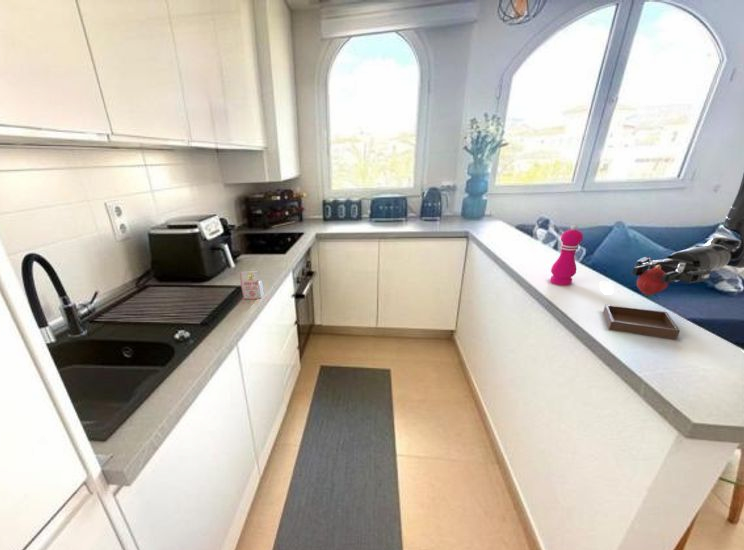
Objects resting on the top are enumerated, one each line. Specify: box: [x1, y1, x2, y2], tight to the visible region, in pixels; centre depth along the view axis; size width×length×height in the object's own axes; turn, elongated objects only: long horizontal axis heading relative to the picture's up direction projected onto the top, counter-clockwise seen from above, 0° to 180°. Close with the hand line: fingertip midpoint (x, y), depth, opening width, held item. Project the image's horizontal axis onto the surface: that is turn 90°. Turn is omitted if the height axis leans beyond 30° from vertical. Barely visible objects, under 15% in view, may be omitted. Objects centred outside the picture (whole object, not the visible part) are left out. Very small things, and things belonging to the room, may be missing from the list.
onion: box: [636, 265, 670, 296], centre depth 86 cm, size 6×6×8 cm
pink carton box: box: [239, 270, 265, 301], centre depth 125 cm, size 4×7×10 cm, turn 85°
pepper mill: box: [549, 224, 584, 286], centre depth 116 cm, size 7×7×20 cm
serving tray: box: [602, 304, 681, 340], centre depth 91 cm, size 13×11×2 cm
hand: (649, 275), depth 84 cm, fingers closed on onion, 5 cm apart
